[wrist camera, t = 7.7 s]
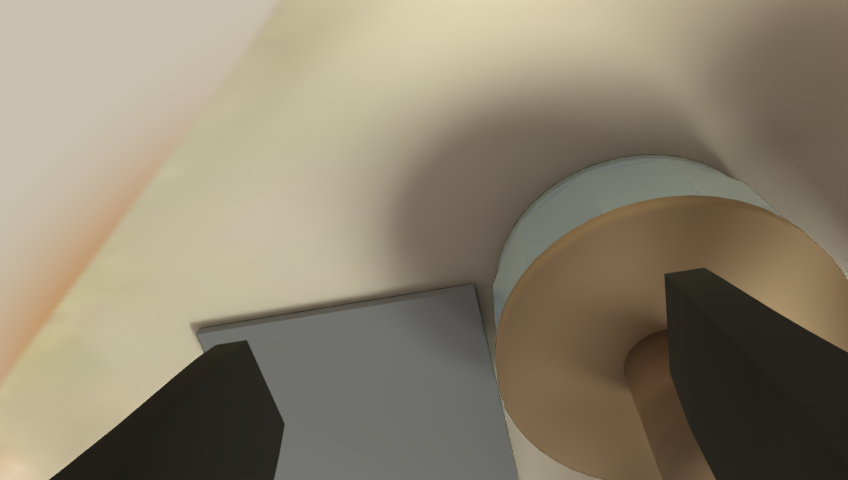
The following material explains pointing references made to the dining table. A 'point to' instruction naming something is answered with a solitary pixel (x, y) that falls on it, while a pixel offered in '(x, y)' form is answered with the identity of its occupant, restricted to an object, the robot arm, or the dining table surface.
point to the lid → (643, 327)
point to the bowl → (605, 205)
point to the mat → (382, 389)
